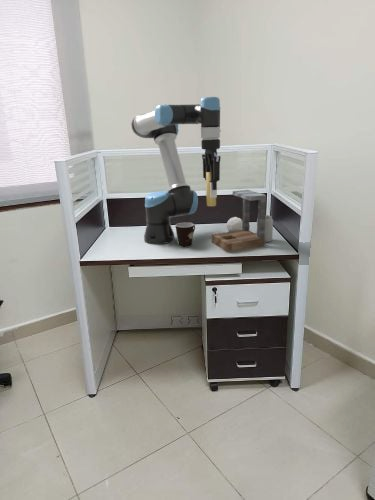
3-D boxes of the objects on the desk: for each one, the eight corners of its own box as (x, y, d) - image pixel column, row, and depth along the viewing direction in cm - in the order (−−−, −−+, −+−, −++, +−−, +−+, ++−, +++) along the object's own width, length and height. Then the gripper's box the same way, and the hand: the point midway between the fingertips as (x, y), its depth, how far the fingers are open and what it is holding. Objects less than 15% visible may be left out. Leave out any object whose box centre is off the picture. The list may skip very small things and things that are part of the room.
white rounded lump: (226, 233, 173) (250, 235, 174) (228, 215, 173) (252, 217, 173) (224, 234, 182) (246, 236, 182) (225, 216, 182) (248, 218, 182)
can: (272, 243, 163) (273, 218, 159) (256, 242, 165) (256, 218, 161) (271, 238, 170) (273, 214, 166) (256, 237, 171) (257, 214, 167)
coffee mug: (181, 249, 159) (180, 228, 156) (173, 244, 167) (172, 224, 163) (203, 244, 164) (202, 224, 161) (194, 240, 172) (193, 220, 168)
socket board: (211, 242, 167) (211, 193, 159) (246, 236, 174) (247, 189, 166) (227, 252, 153) (227, 199, 145) (264, 246, 160) (266, 195, 152)
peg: (205, 205, 150) (204, 172, 146) (213, 204, 152) (213, 171, 147) (209, 206, 147) (208, 173, 142) (217, 205, 148) (217, 172, 143)
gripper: (228, 138, 134) (228, 199, 142) (210, 138, 149) (211, 192, 157) (210, 139, 131) (211, 201, 139) (194, 138, 146) (195, 194, 154)
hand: (211, 196), depth 148 cm, fingers closed on peg, 4 cm apart
